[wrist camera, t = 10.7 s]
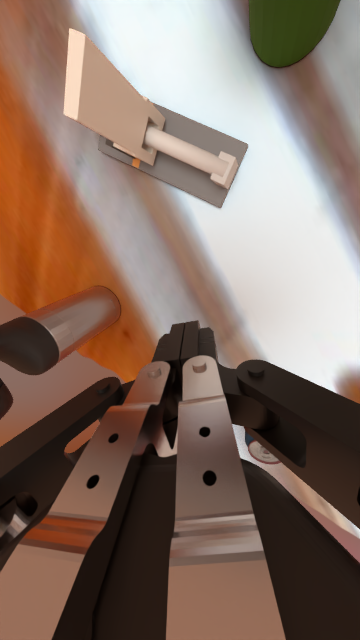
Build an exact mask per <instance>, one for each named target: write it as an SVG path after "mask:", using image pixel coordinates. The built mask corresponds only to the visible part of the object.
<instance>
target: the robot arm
mask: <svg viewBox="0 0 360 640" xmlns="http://www.w3.org/2000/svg"><path fill="white" fill-rule="evenodd" d="M120 312H121V309H120V304H119V301H118V299H117V297H116V296H115V295H114V294H113V293H112V292H111V291H110V290H109V289H107V288H105V287H102V286H95V287H92V288H89V289H87V290H84V291H82V292H79V293H77V294H74V295H72V296H70V297H67V298H65V299H62V300H60V301H57V302H55V303H52V304H50V305H48V306H45V307H43V308H40V309H38V310H36V311H33V312H31V313H28V314H26V315H23V316H21V317H18V318H16V319H14V320H12V321H9V322H7V323H4V324H2V325H0V361H2V362H4V363H6V364H8V365H10V366H11V367H13V368H15V369H16V370H18V371H20V372H22V373H25V374H28V375H40V374H42V373H44V372H46V371H48V370H49V369H51V368H52V367H53V366H54V365H56V364H57V363H59V362H60V361H61V360H63V359H64V358H65V357H67V356H68V355H69V354H71V353H72V352H73V351H75V350H77V349H78V348H79V347H81V346H82V345H84V344H85V343H86V342H88V341H89V340H90V339H92V338H93V337H95V336H96V335H97V334H99V333H100V332H102V331H103V330H104V329H106V328H107V327H109V326H110V325H111V324H113V323H114V322H116V321H117V320H118V318H119V317H120ZM12 403H13V397H12V395H11V393H10V391H9V389H8V388H7V386H6V385H5V384H4V383H3V381H2V380H1V378H0V419H1V418H2V417H3V416H4V415H5V414H6V413H7V412H8V410H9V409H10V407H11V406H12ZM97 419H98V420H99V422H100V424H99V425H98V427H97V429H96V431H95V432H94V434H93V436H92V438H91V439H90V440H88V441H87V442H86V443H85V444H83V445H82V446H81V447H80V448H79V449H78V450H76V451H75V452H73V453H65V452H64V449H65V447H66V445H67V444H68V443H69V442H70V441H71V440H72V439H73V438H74V437H76V436H77V435H78V434H79V433H81V432H82V431H83V430H85V429H86V428H87V427H88V426H90V425H91V424H92V423H93V422H95V421H96V420H97ZM232 424H235V425H240V426H244V429H245V431H246V432H247V433H248V434H249V435H250V436H251V437H252V438H253V439H255V440H256V441H257V442H258V443H259V444H260V445H262V446H263V447H264V448H265V449H266V450H268V451H269V452H270V453H271V454H272V455H273V456H275V457H276V458H277V459H278V460H279V461H280V462H282V463H283V464H284V465H285V466H286V467H287V468H289V469H290V470H291V471H292V472H293V473H294V474H296V475H297V476H298V477H299V478H300V479H302V480H303V481H304V482H305V483H306V484H307V485H309V486H310V487H311V488H312V489H313V490H314V491H316V492H317V493H318V494H319V495H320V496H321V497H323V498H324V499H325V500H326V501H327V502H328V503H330V504H331V505H332V506H333V507H334V508H335V509H337V510H338V511H339V512H340V513H341V514H343V515H344V516H345V517H346V518H347V519H348V520H350V521H351V522H352V523H353V524H354V525H355V526H357V527H358V528H359V529H360V404H358V403H356V402H354V401H352V400H350V399H347V398H345V397H343V396H341V395H339V394H337V393H334V392H332V391H330V390H328V389H326V388H323V387H321V386H319V385H317V384H315V383H312V382H310V381H308V380H306V379H304V378H302V377H299V376H297V375H295V374H293V373H291V372H288V371H286V370H284V369H282V368H280V367H277V366H275V365H273V364H271V363H269V362H266V361H263V360H248V361H245V362H243V363H241V364H240V365H239V366H238V367H237V369H230V368H226V367H224V366H222V365H220V364H219V363H218V356H217V350H216V344H215V338H214V333H213V331H212V330H211V329H210V328H209V327H208V328H201V329H200V324H199V321H191V322H186V323H179V324H173V325H172V327H171V331H170V333H169V334H164V335H163V336H162V337H161V338H160V339H159V342H158V346H157V348H156V351H155V354H154V357H153V359H152V362H151V363H150V364H148V365H146V366H144V367H143V368H142V369H141V370H140V372H139V374H138V376H137V378H136V380H134V381H131V382H128V383H125V384H122V385H121V382H120V380H119V379H118V378H116V377H108V378H104V379H102V380H100V381H98V382H96V383H95V384H93V385H92V386H90V387H89V388H87V389H86V390H84V391H83V392H81V393H80V394H78V395H77V396H76V397H74V398H72V399H71V400H69V401H68V402H66V403H65V404H64V405H62V406H61V407H59V408H58V409H56V410H55V411H53V412H52V413H50V414H49V415H47V416H46V417H44V418H43V419H42V420H40V421H38V422H37V423H35V424H34V425H32V426H31V427H29V428H28V429H26V430H25V431H23V432H22V433H21V434H19V435H17V436H16V437H14V438H13V439H12V440H10V441H9V442H7V443H6V444H4V445H3V446H1V447H0V640H360V563H359V562H358V561H357V560H356V559H355V558H354V557H353V556H352V555H351V554H350V553H349V552H348V551H347V550H346V549H345V548H344V547H343V546H342V545H341V544H340V543H339V542H338V541H337V540H336V539H335V538H334V537H333V536H332V535H331V534H330V533H329V532H328V531H327V530H326V529H325V528H324V527H323V526H322V525H321V524H320V523H319V522H318V521H317V520H316V519H315V518H314V517H313V516H312V515H311V514H310V513H309V512H308V511H307V510H306V509H305V508H304V507H303V506H302V505H301V504H300V503H299V502H298V501H297V500H296V499H295V498H294V497H293V496H292V495H291V494H290V493H289V492H288V491H287V490H286V489H285V488H284V487H283V486H282V485H281V484H280V483H279V482H278V481H277V480H276V479H275V478H274V477H273V476H271V475H270V474H269V473H268V472H266V471H265V470H263V469H262V468H260V467H259V466H257V465H255V464H253V463H251V462H249V461H247V460H244V459H241V458H240V455H239V451H238V447H237V443H236V439H235V435H234V431H233V427H232Z"/></svg>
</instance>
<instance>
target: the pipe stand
mask: <svg viewBox="0 0 360 640" xmlns="http://www.w3.org/2000/svg"><path fill="white" fill-rule="evenodd" d="M151 103H152V102H151ZM152 104H153V105H154V106H155V107H156V109H157V110H158V111H159V112H160V113H161V114H162V115H163V116H164V118H165V122H164V126H163V130H162V131H160V130H158V129H156V128H154V127H152V126H149V125H147V126H146V130H145V134H144V139H143V144H146V145H148V146H150V147H152V148H154V149H156V150H157V153H156V156H155V160H154V164H153V166H152V165H150V164H148V163H146V162H144V161H141V160H139V159H137V158H135V159H133V158H131V157H129V156H127V155H125V154H123V153H121V152H119V151H117V150H115V149H113V148H111V147H110V146H108V145H106V144H105V143H106V138H105V137H103V136H102V135H100V140H99V147H98V150H99V151H101V152H103V153H105V154H107V155H110V156H112V157H114V158H116V159H118V160H120V161H122V162H124V163H127V164H129V165H131V166H133V167H135V168H137V169H139V170H141V171H144V172H146V173H148V174H150V175H152V176H154V177H156V178H158V179H160V180H163V181H165V182H167V183H169V184H171V185H173V186H175V187H177V188H180V189H182V190H184V191H186V192H188V193H190V194H192V195H194V196H197V197H199V198H201V199H203V200H205V201H207V202H209V203H211V204H213V205H216V206H218V207H220V208H221V207H222V205H223V202H224V200H225V198H226V196H227V193H228V191H229V189H230V187H231V184H232V182H233V180H234V177H235V175H236V173H237V171H238V168H239V166H240V164H241V162H242V159H243V157H244V155H245V153H246V150H247V148H248V144H247V143H244V142H242V141H240V140H237V139H235V138H233V137H231V136H228V135H226V134H224V133H221V132H219V131H217V130H214V129H212V128H210V127H208V126H205V125H203V124H201V123H198V122H196V121H194V120H191V119H189V118H187V117H185V116H182V115H180V114H178V113H175V112H173V111H171V110H168V109H166V108H164V107H161V106H159V105H157V104H155V103H152Z"/></svg>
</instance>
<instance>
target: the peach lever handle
mask: <svg viewBox="0 0 360 640" xmlns="http://www.w3.org/2000/svg"><path fill="white" fill-rule="evenodd" d="M64 115H66V116H67V117H69V118H71V119H73V120H75V121H76V122H78V123H80V124H82V125H84V126H85V127H87V128H89V129H91V130H93V131H94V132H96V133H98V134H100V135H102V136H103V137H105V138H106V143H105V144H106V145H108V146H110V147H111V148H113V149H115V150H117V151H119V152H121V153H123V154H125V155H127V156H129V157H131V158H133V159H135V158H137V159H139V160H141V161H144V162H146V163H148V164H150V165H152V166H153V164H154V160H155V156H156V153H157V150H156V149H154V148H152V147H150V146H148V145H146V144H143V139H144V134H145V130H146V126H147V125H149V126H152V127H154V128H156V129H158V130H160V131H162V130H163V126H164V122H165V118H164V116H163V115H162V114H161V113H160V112H159V111H158V110H157V109H156V107H155V106H154V105H153V104H152V103H151V102H150V101H149V99H148V98H146V97H144V96H142V95H140V94H139V93H138V92H137V91H136V89H135V88H134V87H133V86H132V85H131V84H130V83H129V82H128V81H127V80H126V78H125V77H124V76H123V75H122V74H121V73H120V72H119V71H118V70H117V69H116V68H115V66H114V65H113V64H112V63H111V62H110V61H109V60H108V59H107V58H106V57H105V55H104V54H103V53H102V52H101V51H100V50H99V49H98V48H97V47H96V46H95V45H94V43H93V42H92V41H91V40H90V39H89V38H88V37H87V36H86V35H85V34H83V33H81V32H78V31H76V30H73V29H71V28H70V29H69V43H68V58H67V72H66V87H65V102H64Z"/></svg>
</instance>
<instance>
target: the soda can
mask: <svg viewBox="0 0 360 640" xmlns="http://www.w3.org/2000/svg"><path fill="white" fill-rule="evenodd" d="M245 442H246V445H247V447H248V451H249V453H250V455H251V456H252V457H253V458H254V459H256V460H257V461H259V462H262V463H265V464H278V463H281V462H280V461H279V460H278V459H277V458H276V457H275V456H273V455H272V454H271V453H270V452H269V451H268V450H266V449H265V448H264V447H263V446H262V445H260V444H259V443H258V442H257V441H256V440H255V439H253V438H252V437H251V436H250V435H249V434H248V433H247V432H246V431H245Z"/></svg>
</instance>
